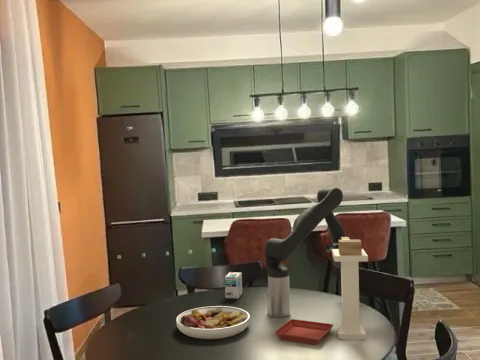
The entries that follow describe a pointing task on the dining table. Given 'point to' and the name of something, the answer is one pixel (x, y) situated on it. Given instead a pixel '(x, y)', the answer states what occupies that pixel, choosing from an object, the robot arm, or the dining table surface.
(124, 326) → the dining table surface
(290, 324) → the plant saucer
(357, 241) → the beech mallet
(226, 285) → the light bulb box
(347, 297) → the tall stand
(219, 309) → the bowl
